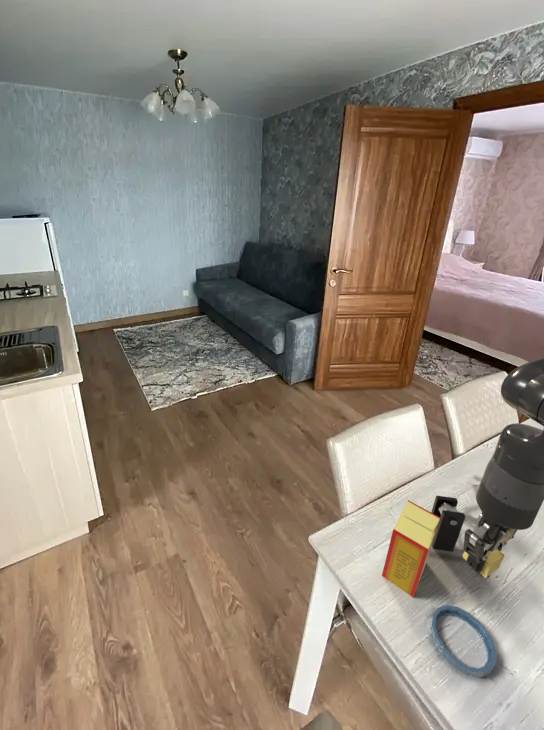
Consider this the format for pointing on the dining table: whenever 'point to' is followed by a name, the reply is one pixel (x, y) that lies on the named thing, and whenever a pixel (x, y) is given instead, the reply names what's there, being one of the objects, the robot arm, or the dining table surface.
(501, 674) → the dining table surface
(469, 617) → the blue hoop band
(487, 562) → the butter pat
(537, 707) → the dining table surface
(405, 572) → the baking soda box
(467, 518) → the slicer blade
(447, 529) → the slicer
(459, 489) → the dining table surface
